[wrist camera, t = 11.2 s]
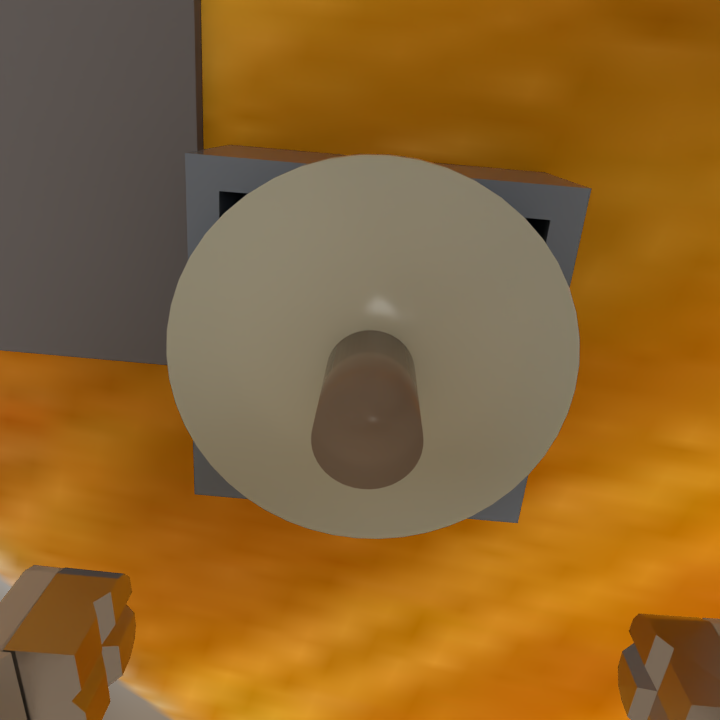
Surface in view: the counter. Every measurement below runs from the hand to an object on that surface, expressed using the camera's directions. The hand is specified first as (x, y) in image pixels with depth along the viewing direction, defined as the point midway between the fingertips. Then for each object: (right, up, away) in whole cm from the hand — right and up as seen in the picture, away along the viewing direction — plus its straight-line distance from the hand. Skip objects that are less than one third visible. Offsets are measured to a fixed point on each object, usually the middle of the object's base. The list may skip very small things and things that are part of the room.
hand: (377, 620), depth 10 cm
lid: (0, +4, +10) cm, 11 cm away
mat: (-13, +11, +14) cm, 22 cm away
